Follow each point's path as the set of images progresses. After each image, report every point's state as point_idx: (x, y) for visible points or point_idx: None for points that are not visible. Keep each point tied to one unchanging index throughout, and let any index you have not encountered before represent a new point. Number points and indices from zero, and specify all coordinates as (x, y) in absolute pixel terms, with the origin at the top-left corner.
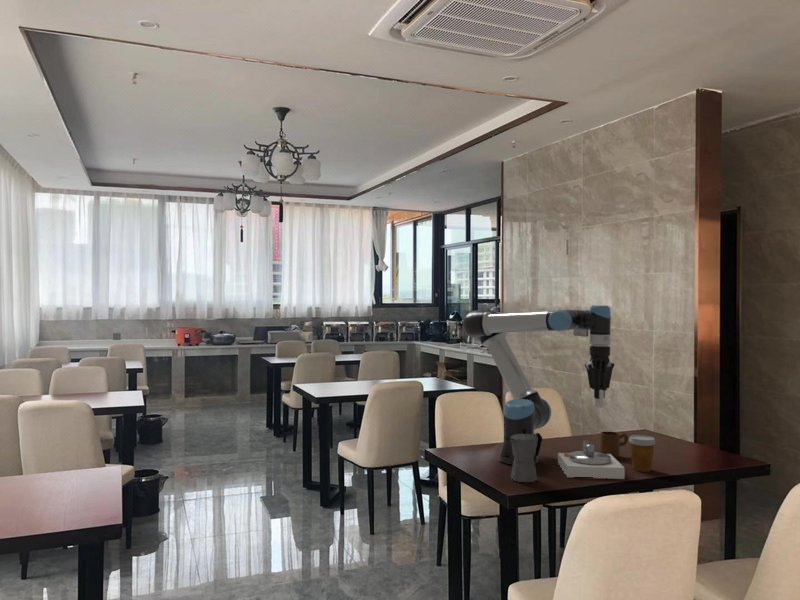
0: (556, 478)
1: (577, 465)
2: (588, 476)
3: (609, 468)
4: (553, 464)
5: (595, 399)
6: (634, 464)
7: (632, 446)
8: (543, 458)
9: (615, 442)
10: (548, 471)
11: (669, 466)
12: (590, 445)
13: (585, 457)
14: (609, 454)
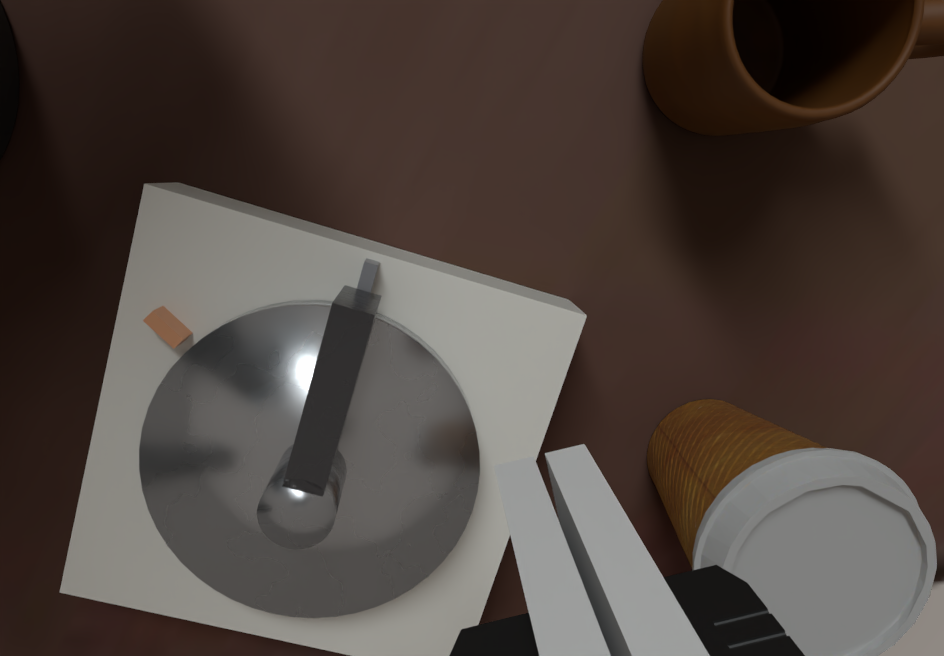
0: (15, 558)
1: (146, 587)
2: None
3: (360, 653)
4: (126, 216)
5: (515, 554)
6: (656, 477)
7: (689, 548)
8: (108, 6)
9: (779, 129)
10: (15, 395)
11: (935, 412)
12: (295, 527)
13: (251, 511)
14: (571, 324)
